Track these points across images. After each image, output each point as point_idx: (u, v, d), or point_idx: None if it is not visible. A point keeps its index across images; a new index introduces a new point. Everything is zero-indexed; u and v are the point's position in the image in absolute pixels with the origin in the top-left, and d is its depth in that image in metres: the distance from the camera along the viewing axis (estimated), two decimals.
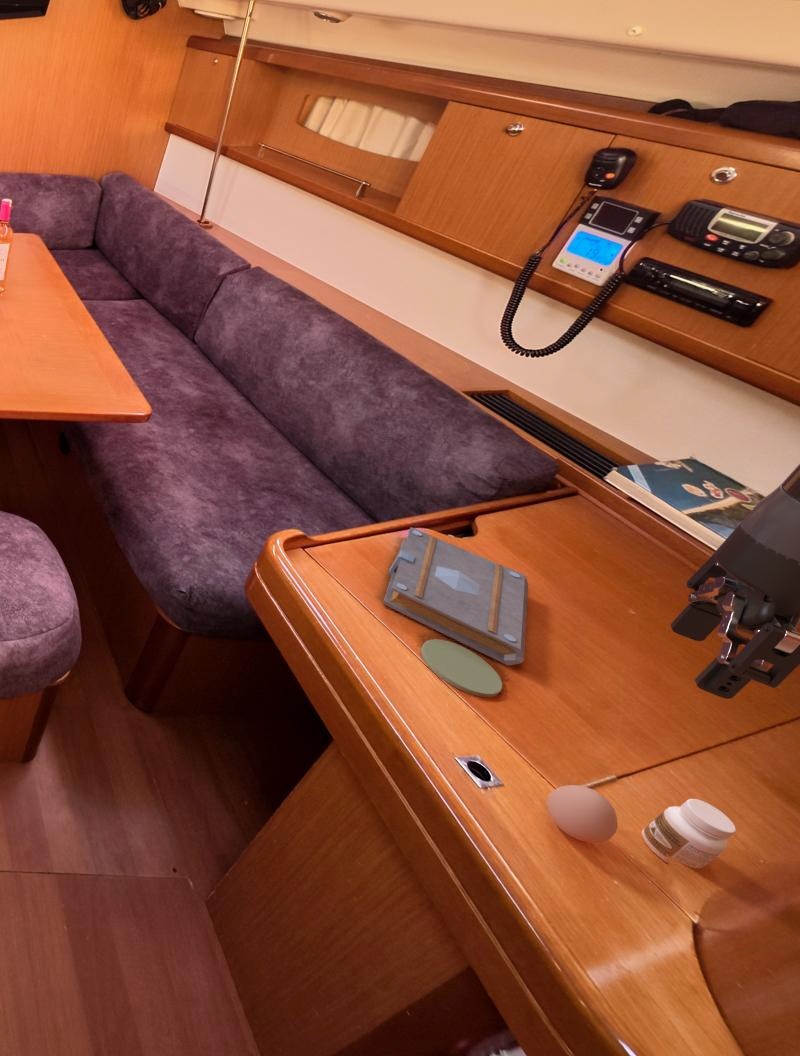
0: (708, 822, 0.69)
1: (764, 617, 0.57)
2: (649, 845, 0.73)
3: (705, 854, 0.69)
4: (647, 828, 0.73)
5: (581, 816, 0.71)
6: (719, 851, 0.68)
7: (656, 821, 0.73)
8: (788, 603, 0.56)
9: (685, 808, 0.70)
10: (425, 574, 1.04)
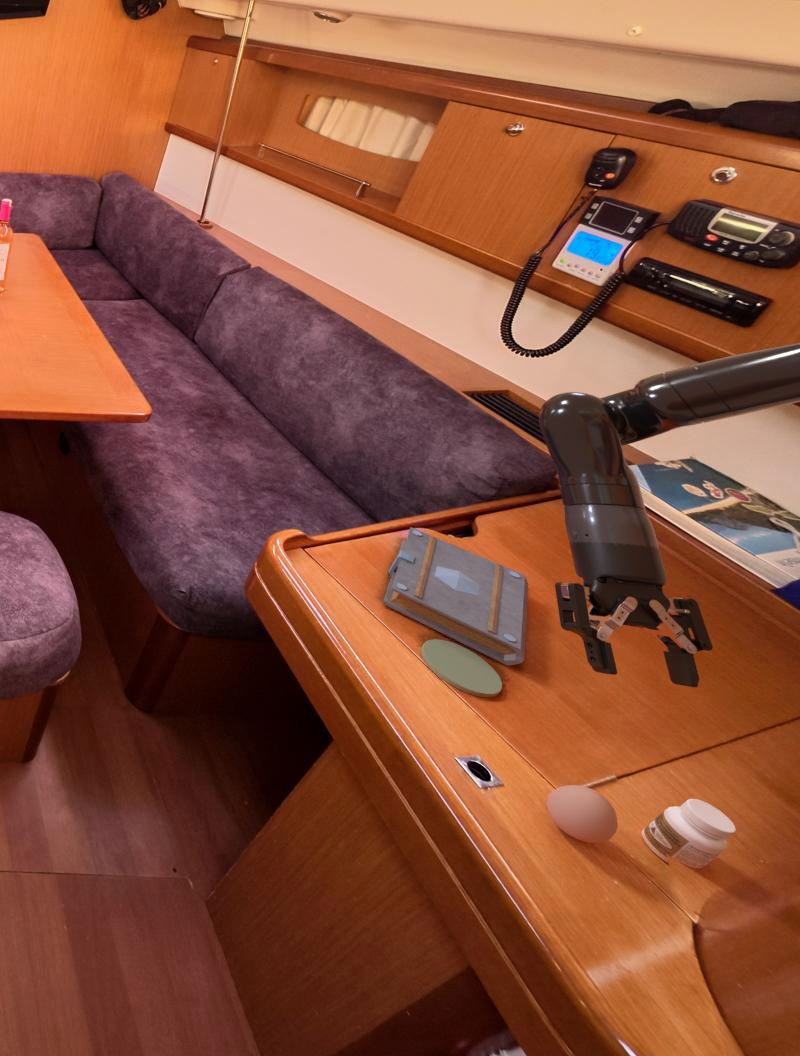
0: (708, 822, 0.69)
1: None
2: (649, 845, 0.73)
3: (705, 854, 0.69)
4: (647, 828, 0.73)
5: (581, 816, 0.71)
6: (719, 851, 0.68)
7: (656, 821, 0.73)
8: (586, 575, 0.81)
9: (685, 808, 0.70)
10: (425, 574, 1.04)
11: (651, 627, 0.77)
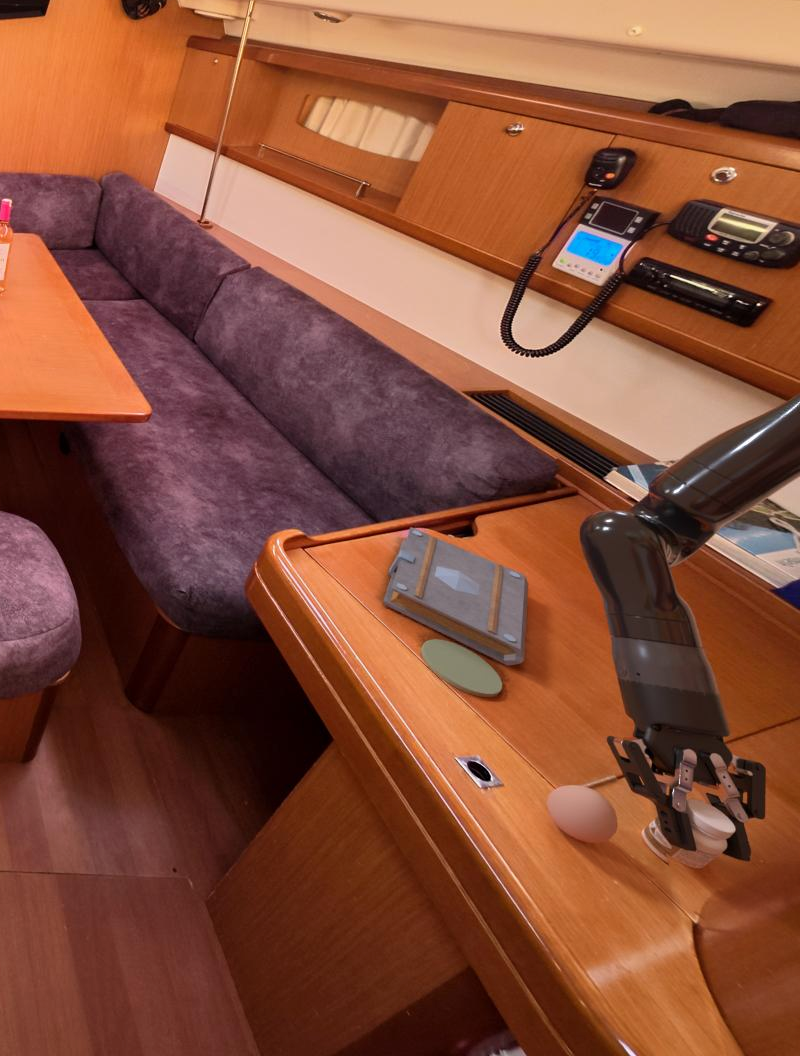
0: (708, 822, 0.69)
1: (633, 736, 0.74)
2: (649, 845, 0.73)
3: (705, 854, 0.69)
4: (647, 828, 0.73)
5: (581, 816, 0.71)
6: (719, 851, 0.68)
7: (656, 821, 0.73)
8: (638, 719, 0.74)
9: None
10: (425, 574, 1.04)
11: (712, 784, 0.70)
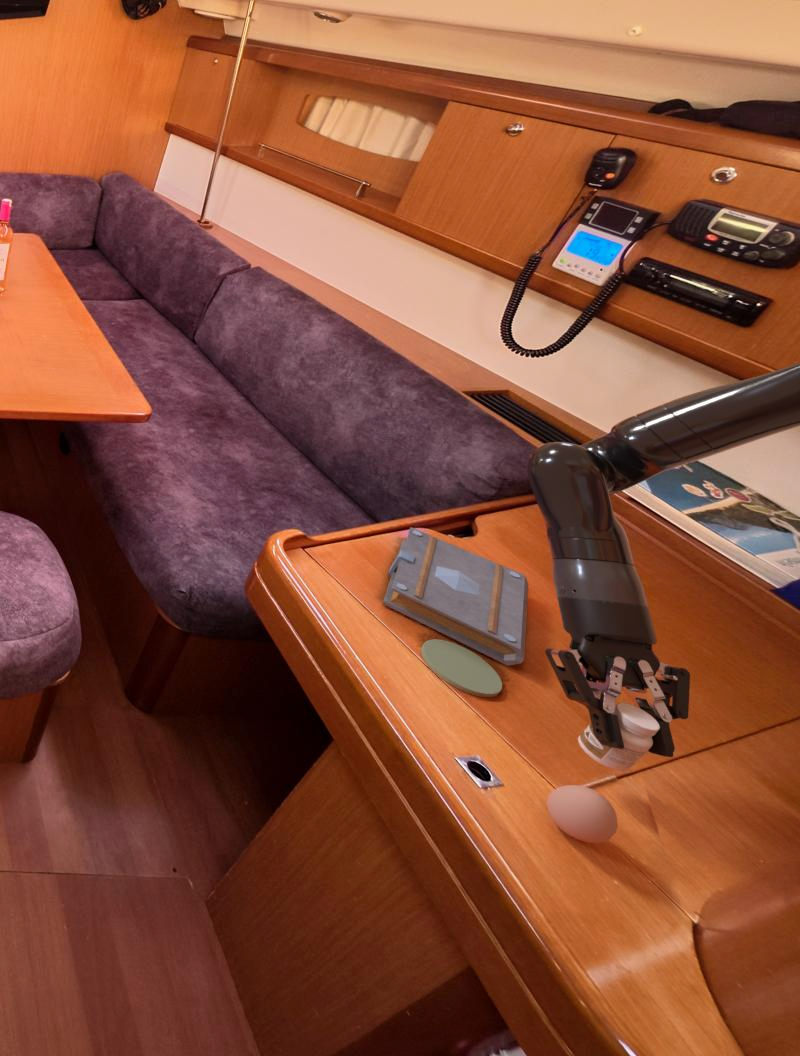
0: (634, 721, 0.74)
1: (570, 648, 0.79)
2: (584, 748, 0.78)
3: (632, 752, 0.74)
4: (582, 733, 0.79)
5: (581, 816, 0.71)
6: (645, 748, 0.74)
7: (590, 726, 0.78)
8: (574, 632, 0.79)
9: None
10: (425, 574, 1.04)
11: (640, 688, 0.75)
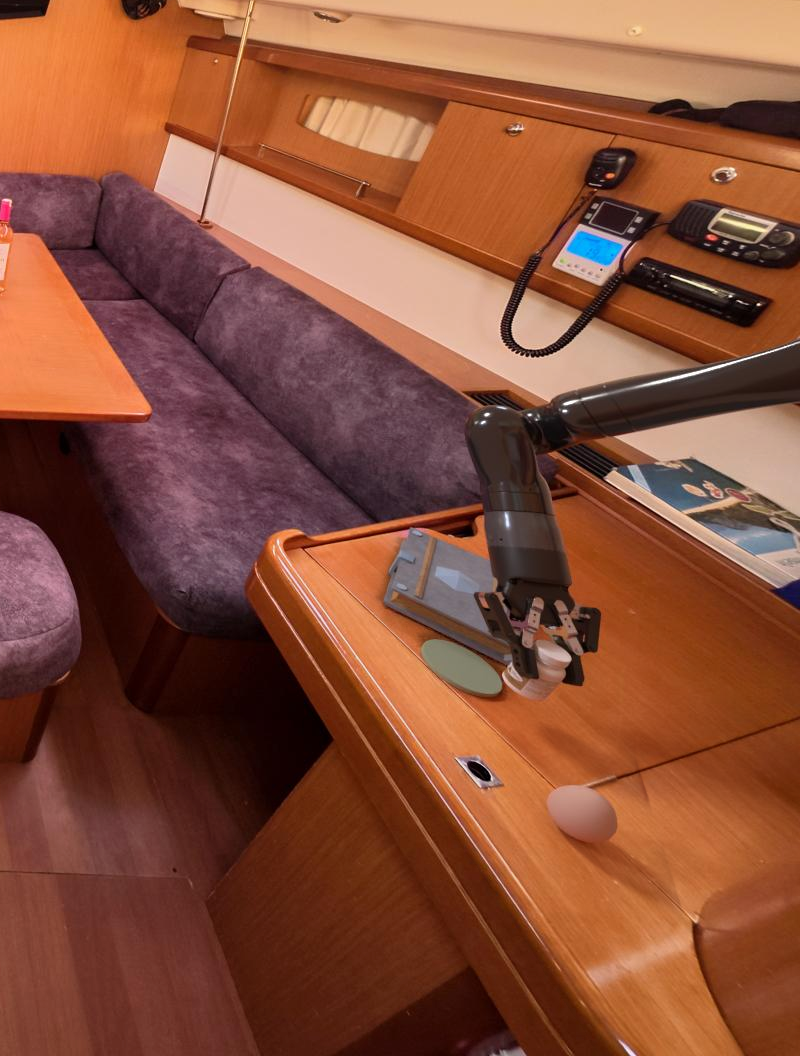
0: (549, 654, 0.81)
1: (496, 591, 0.86)
2: (506, 682, 0.86)
3: (547, 683, 0.82)
4: (506, 669, 0.86)
5: (581, 816, 0.71)
6: (558, 679, 0.81)
7: (512, 661, 0.85)
8: (499, 577, 0.86)
9: (533, 646, 0.83)
10: (425, 574, 1.04)
11: (556, 625, 0.83)
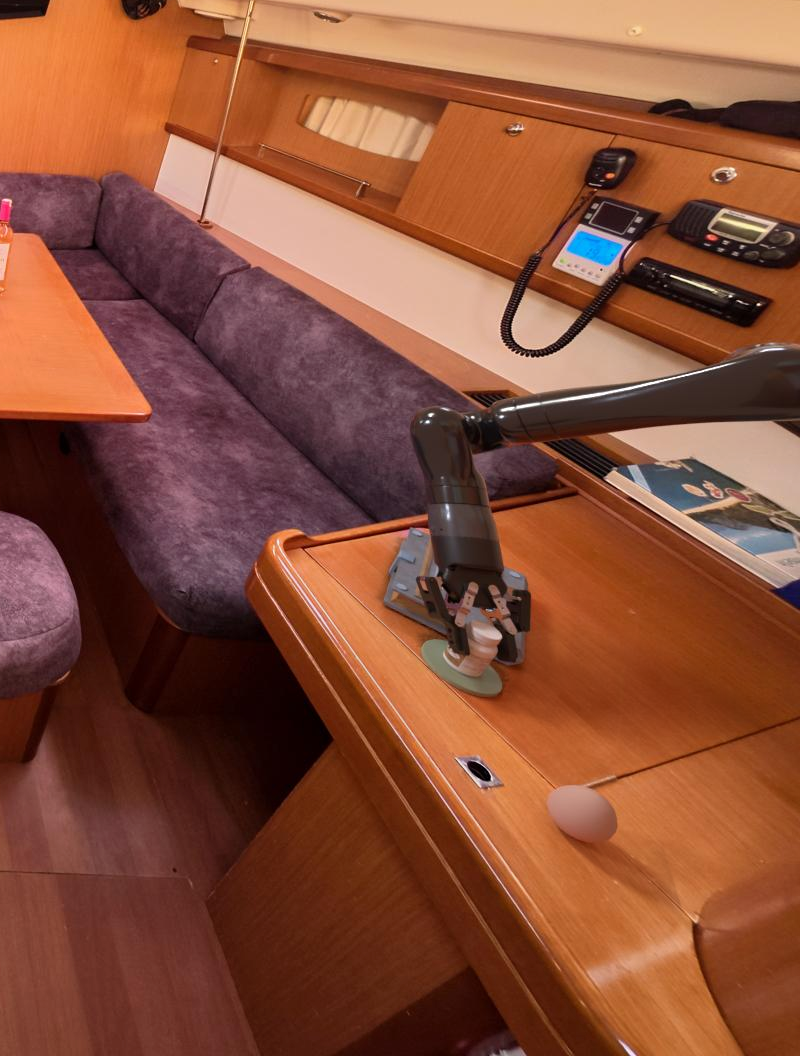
0: (482, 633, 0.89)
1: None
2: (446, 660, 0.93)
3: (481, 659, 0.89)
4: (446, 648, 0.94)
5: (581, 816, 0.71)
6: (490, 655, 0.89)
7: None
8: (440, 564, 0.94)
9: (468, 626, 0.91)
10: (425, 574, 1.04)
11: (490, 608, 0.91)
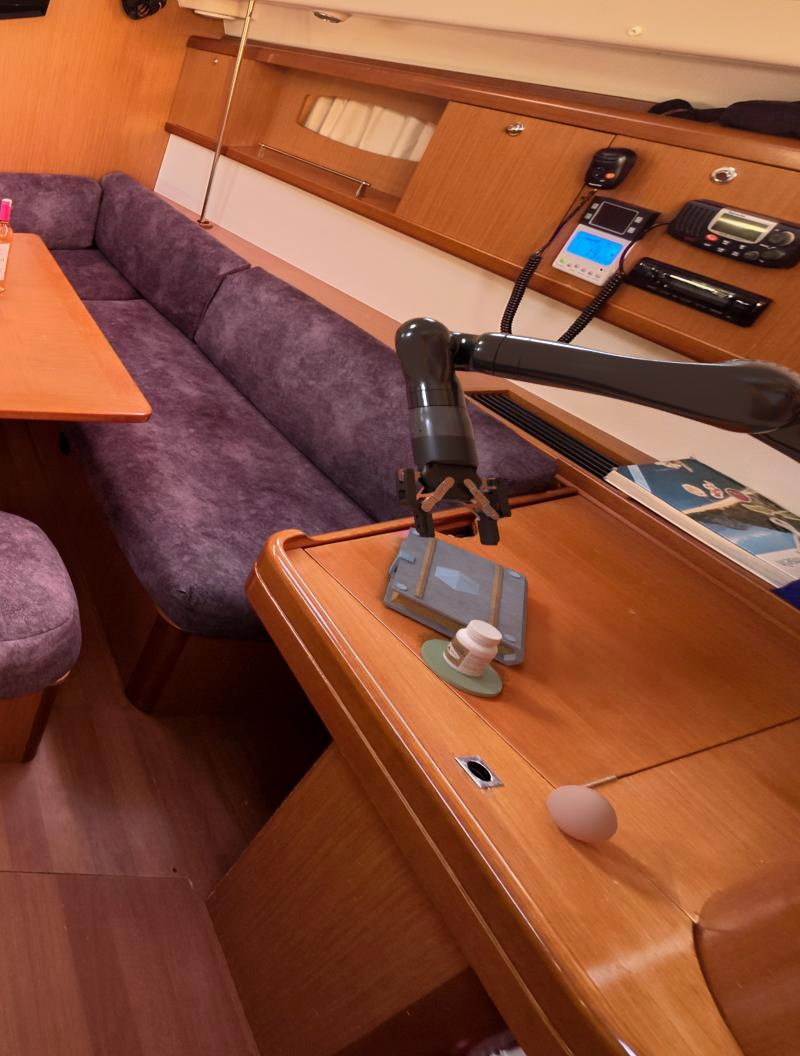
0: (482, 633, 0.89)
1: None
2: (446, 660, 0.93)
3: (481, 659, 0.89)
4: (446, 648, 0.94)
5: (581, 816, 0.71)
6: (490, 655, 0.89)
7: (451, 641, 0.93)
8: (419, 462, 1.00)
9: (468, 626, 0.91)
10: (425, 574, 1.04)
11: (465, 500, 0.96)
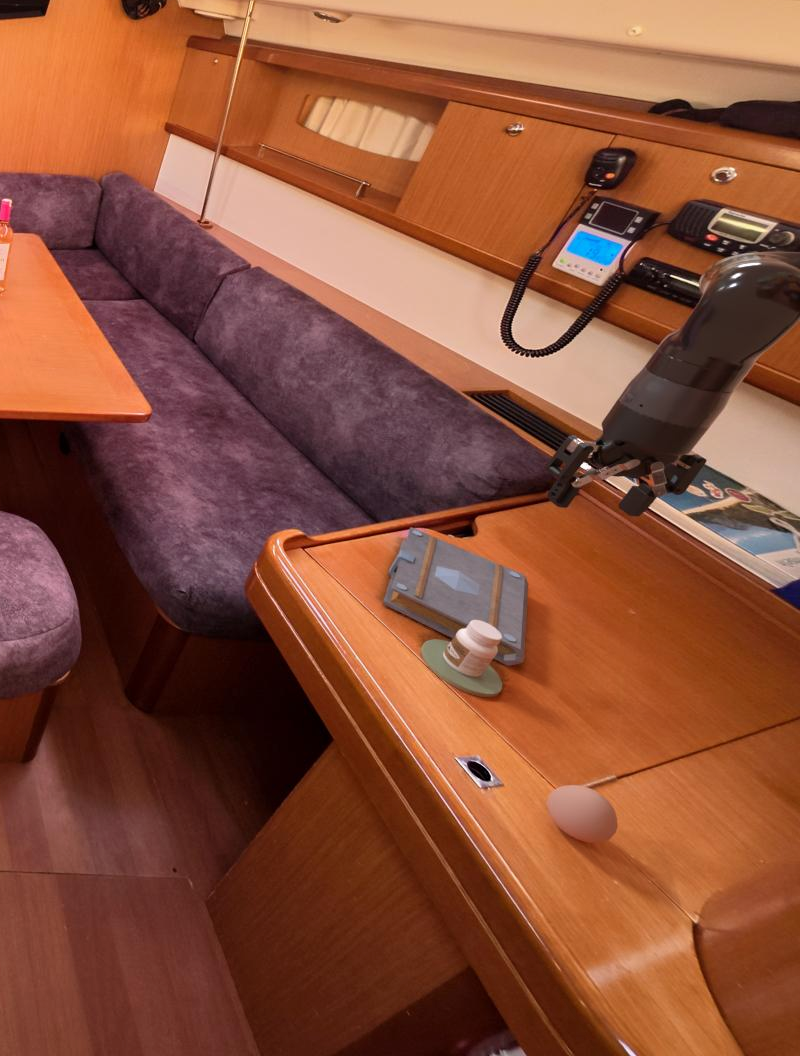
0: (482, 633, 0.89)
1: None
2: (446, 660, 0.93)
3: (481, 659, 0.89)
4: (446, 648, 0.94)
5: (581, 816, 0.71)
6: (490, 655, 0.89)
7: (451, 641, 0.93)
8: (608, 433, 0.80)
9: (468, 626, 0.91)
10: (425, 574, 1.04)
11: (635, 477, 0.81)
